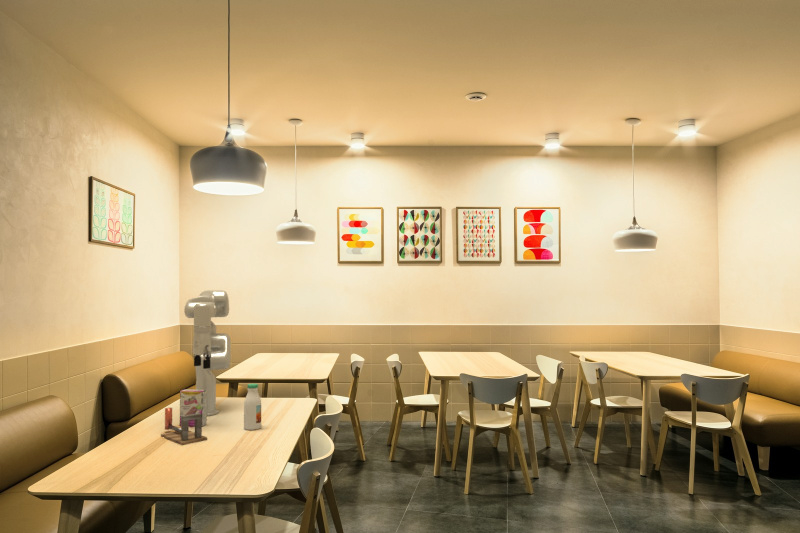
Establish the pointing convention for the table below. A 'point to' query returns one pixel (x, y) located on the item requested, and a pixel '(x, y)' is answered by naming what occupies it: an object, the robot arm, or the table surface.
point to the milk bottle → (252, 408)
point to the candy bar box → (193, 404)
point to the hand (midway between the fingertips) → (202, 367)
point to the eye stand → (187, 431)
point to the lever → (170, 421)
